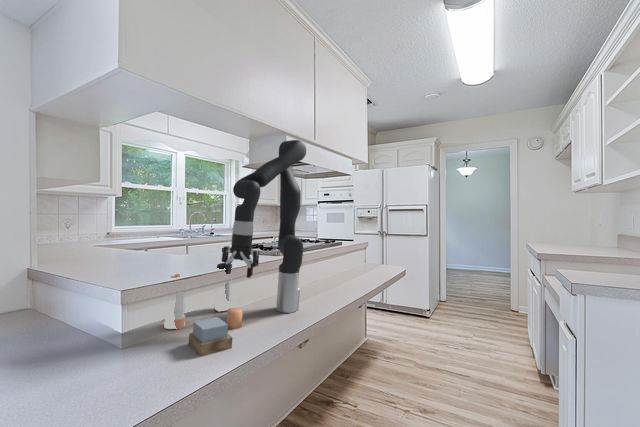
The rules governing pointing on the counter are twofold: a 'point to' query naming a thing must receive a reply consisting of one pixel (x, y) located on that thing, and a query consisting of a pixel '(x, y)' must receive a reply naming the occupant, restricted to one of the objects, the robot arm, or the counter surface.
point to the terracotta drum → (234, 318)
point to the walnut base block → (210, 345)
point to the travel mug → (228, 284)
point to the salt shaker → (179, 308)
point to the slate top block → (210, 329)
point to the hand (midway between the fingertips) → (238, 275)
